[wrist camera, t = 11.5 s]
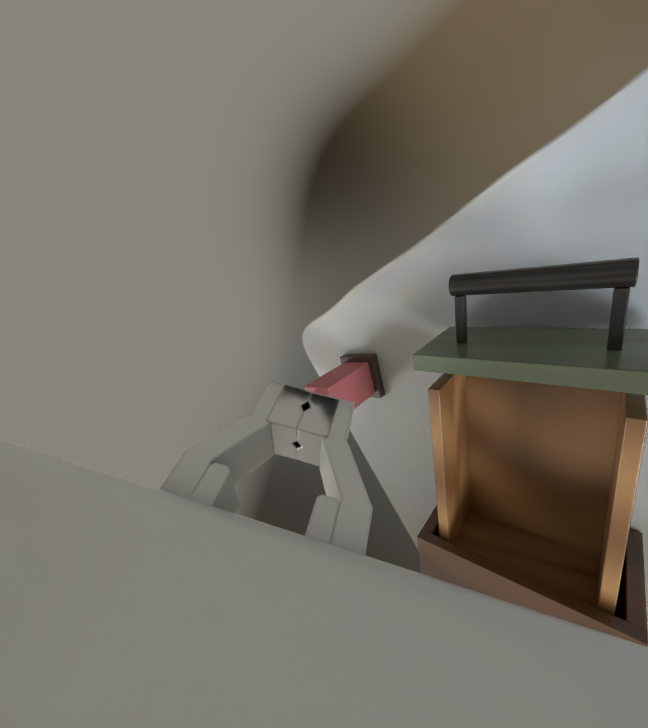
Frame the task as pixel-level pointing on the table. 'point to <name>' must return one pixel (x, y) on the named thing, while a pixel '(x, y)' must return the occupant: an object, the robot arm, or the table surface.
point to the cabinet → (540, 585)
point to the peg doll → (351, 379)
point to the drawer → (541, 432)
